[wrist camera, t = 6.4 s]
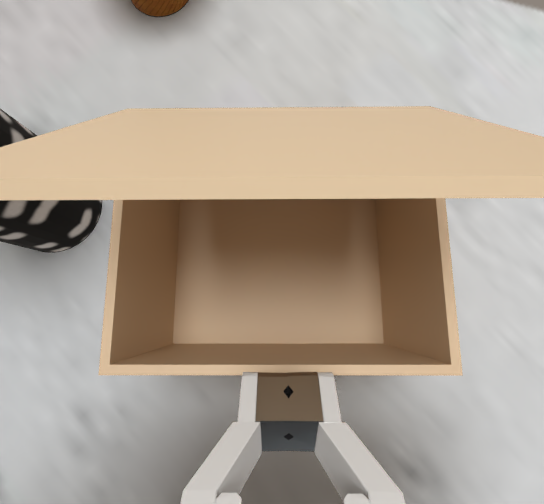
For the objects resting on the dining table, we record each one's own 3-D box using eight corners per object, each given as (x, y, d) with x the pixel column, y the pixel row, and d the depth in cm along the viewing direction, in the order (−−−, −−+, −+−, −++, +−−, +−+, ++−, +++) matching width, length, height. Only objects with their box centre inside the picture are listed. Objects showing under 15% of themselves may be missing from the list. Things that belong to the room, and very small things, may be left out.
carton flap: (669, 196, 7) (683, 174, 7) (-93, 200, 7) (-106, 179, 7) (428, 115, 18) (430, 106, 18) (129, 118, 19) (127, 108, 18)
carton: (386, 348, 27) (462, 375, 16) (169, 348, 27) (98, 375, 16) (377, 187, 29) (437, 115, 18) (177, 188, 29) (120, 118, 19)
